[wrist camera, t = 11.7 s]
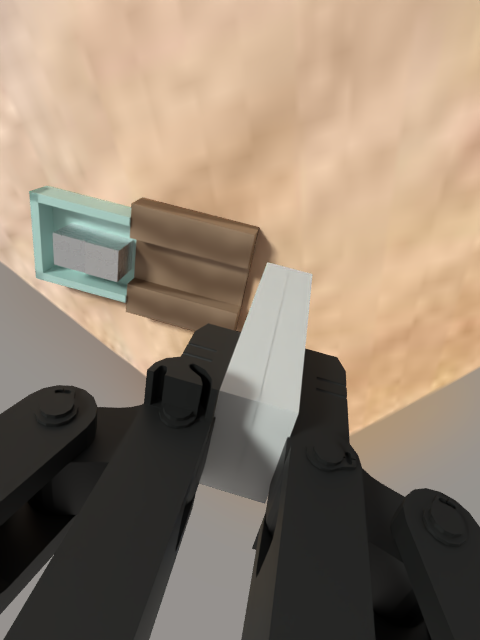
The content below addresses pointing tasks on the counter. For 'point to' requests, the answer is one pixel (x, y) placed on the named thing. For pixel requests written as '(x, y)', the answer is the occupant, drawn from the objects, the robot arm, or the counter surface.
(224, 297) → the slot board
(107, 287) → the tray
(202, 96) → the counter surface
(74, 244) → the grey cube-shaped block
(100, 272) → the grey wood-grain cube
